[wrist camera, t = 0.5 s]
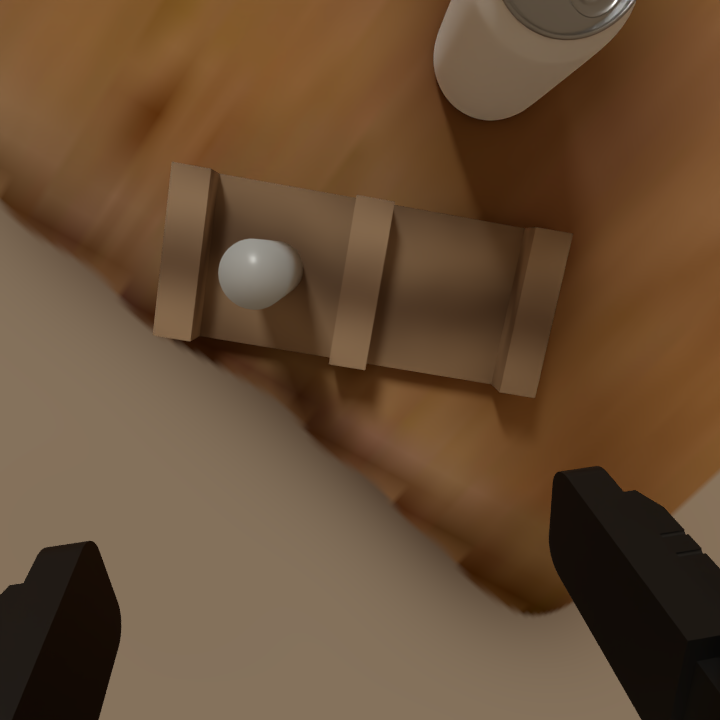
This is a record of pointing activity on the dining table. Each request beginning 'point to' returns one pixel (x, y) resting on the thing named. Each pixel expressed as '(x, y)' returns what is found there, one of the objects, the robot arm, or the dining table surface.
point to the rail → (412, 287)
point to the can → (518, 49)
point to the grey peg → (259, 272)
